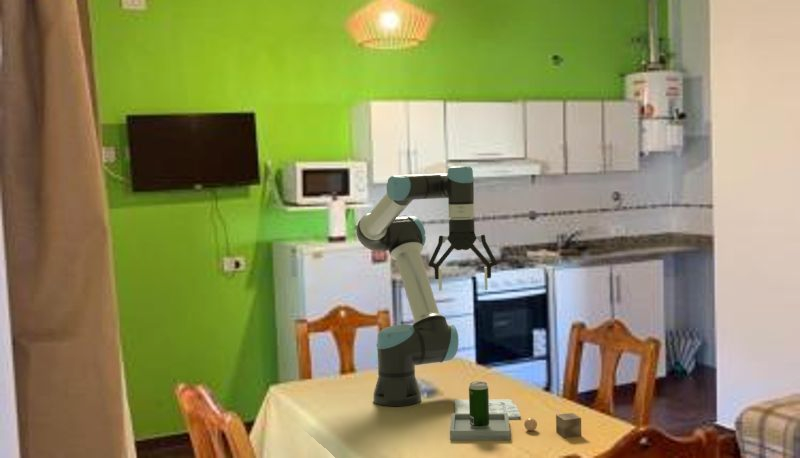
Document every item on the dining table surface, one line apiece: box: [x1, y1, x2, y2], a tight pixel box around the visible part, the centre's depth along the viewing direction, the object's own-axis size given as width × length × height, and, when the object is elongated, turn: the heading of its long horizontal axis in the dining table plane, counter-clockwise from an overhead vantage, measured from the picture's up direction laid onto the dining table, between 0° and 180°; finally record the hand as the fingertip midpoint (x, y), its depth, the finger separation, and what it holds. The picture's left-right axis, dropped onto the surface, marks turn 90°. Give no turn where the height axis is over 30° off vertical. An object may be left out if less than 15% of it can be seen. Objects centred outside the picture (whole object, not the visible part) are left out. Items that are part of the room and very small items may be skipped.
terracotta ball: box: [523, 417, 538, 432], centre depth 227 cm, size 4×4×4 cm
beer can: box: [468, 380, 489, 429], centre depth 228 cm, size 5×5×12 cm
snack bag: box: [453, 398, 522, 420], centre depth 248 cm, size 19×20×2 cm
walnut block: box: [555, 412, 582, 439], centre depth 223 cm, size 5×5×5 cm
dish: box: [449, 413, 511, 441], centre depth 229 cm, size 16×16×2 cm
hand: (463, 289), depth 245 cm, fingers open, 13 cm apart
